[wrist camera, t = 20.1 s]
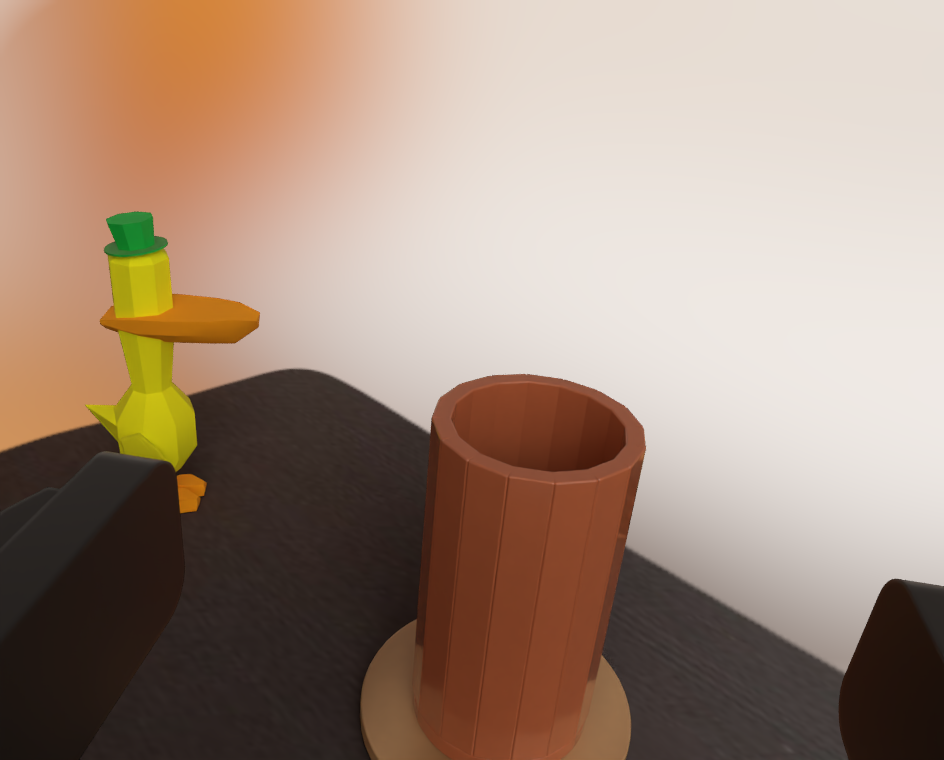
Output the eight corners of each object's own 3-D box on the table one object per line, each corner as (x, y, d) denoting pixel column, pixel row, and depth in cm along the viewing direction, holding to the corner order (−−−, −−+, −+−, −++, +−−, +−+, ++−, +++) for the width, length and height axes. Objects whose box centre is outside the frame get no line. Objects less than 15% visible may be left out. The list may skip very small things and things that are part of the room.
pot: (395, 758, 23) (414, 462, 19) (429, 624, 28) (451, 362, 24) (584, 792, 23) (651, 498, 18) (587, 650, 28) (640, 388, 23)
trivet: (325, 808, 22) (325, 793, 22) (392, 599, 30) (393, 587, 30) (634, 865, 22) (638, 851, 21) (623, 636, 29) (626, 624, 29)
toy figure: (271, 478, 36) (263, 210, 30) (257, 529, 33) (245, 239, 27) (111, 472, 35) (74, 197, 30) (81, 523, 32) (34, 226, 27)
